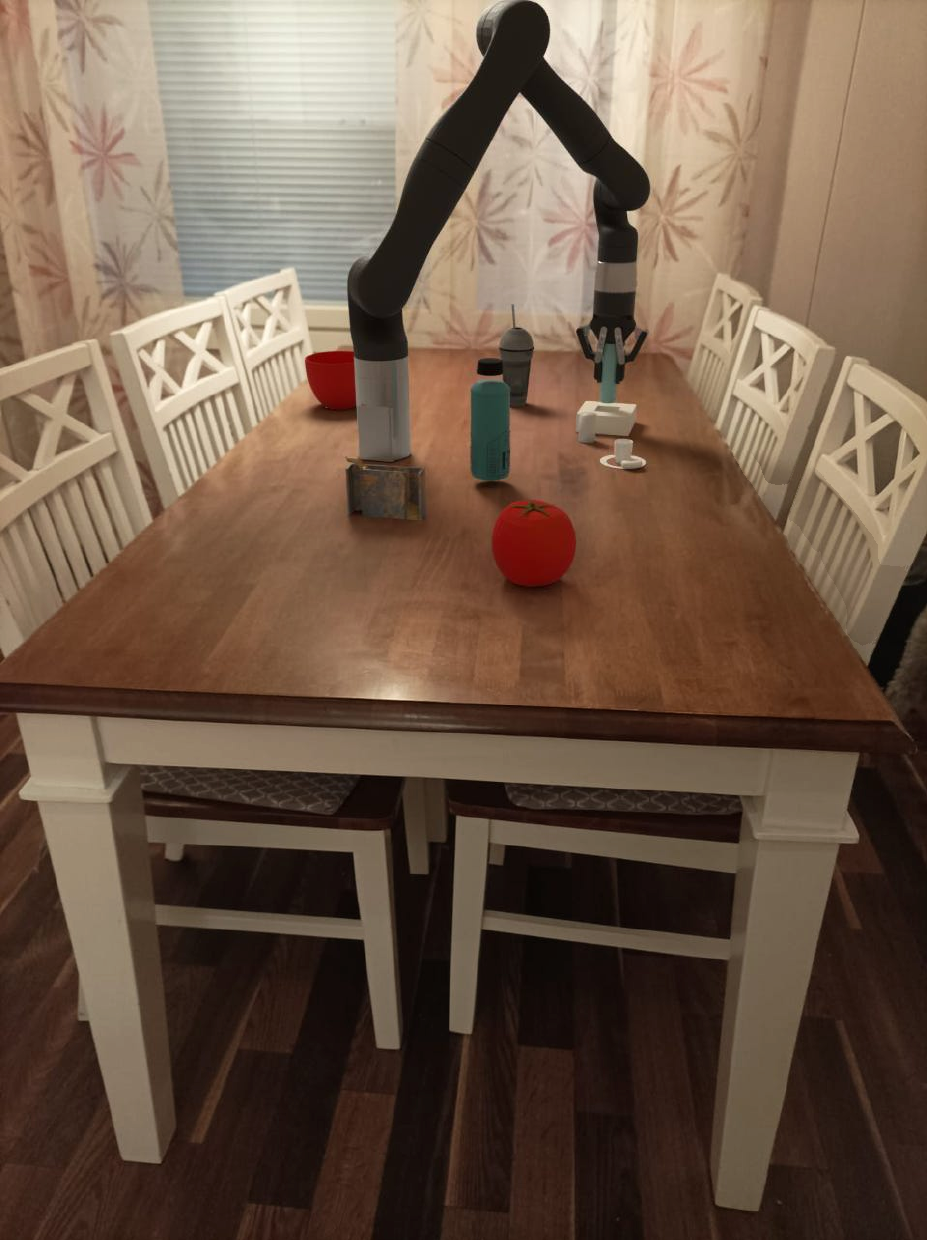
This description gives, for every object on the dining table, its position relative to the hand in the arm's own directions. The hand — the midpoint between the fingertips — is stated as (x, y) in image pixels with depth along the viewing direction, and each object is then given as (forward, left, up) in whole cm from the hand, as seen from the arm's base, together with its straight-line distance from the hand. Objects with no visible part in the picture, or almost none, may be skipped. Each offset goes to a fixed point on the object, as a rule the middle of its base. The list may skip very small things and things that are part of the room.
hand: (608, 382), depth 182 cm
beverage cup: (+12, +21, -9) cm, 26 cm away
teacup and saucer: (-23, -5, -9) cm, 26 cm away
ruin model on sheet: (-56, +24, -9) cm, 62 cm away
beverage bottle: (-38, +13, -9) cm, 41 cm away
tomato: (-73, -2, -9) cm, 74 cm away
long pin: (0, 0, -4) cm, 4 cm away
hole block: (0, 0, -9) cm, 9 cm away
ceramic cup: (+1, +54, -9) cm, 55 cm away
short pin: (-10, +2, -9) cm, 13 cm away
